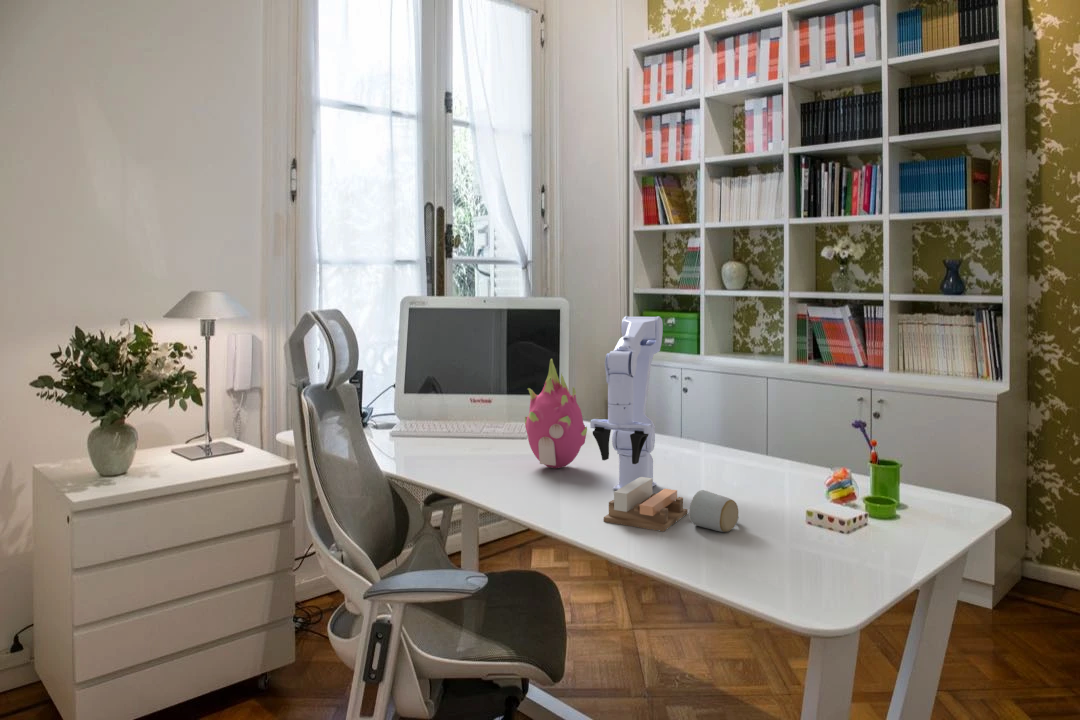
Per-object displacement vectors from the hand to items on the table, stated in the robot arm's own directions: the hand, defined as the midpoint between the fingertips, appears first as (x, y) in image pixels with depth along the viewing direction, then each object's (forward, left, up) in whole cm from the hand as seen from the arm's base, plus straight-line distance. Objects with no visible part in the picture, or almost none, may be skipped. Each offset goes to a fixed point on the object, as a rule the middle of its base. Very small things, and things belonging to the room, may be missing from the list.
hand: (620, 461), depth 188 cm
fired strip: (+6, +12, -7) cm, 15 cm away
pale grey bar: (+6, +6, -7) cm, 11 cm away
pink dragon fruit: (-22, -30, -11) cm, 39 cm away
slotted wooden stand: (+6, +9, -10) cm, 15 cm away
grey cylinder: (+4, +24, -11) cm, 27 cm away
